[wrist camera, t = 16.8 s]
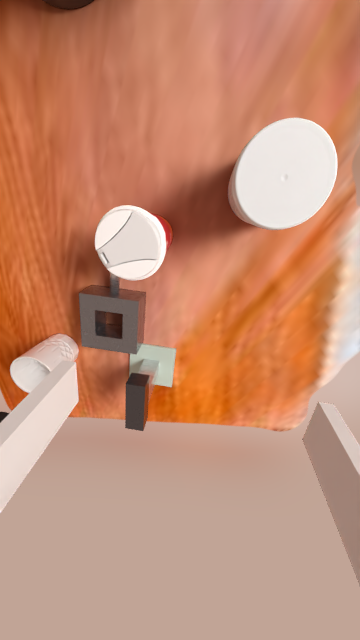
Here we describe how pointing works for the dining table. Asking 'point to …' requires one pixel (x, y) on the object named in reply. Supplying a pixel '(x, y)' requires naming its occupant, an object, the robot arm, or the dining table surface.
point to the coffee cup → (132, 242)
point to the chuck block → (115, 301)
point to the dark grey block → (140, 394)
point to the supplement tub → (283, 174)
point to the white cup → (42, 360)
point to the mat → (160, 354)
